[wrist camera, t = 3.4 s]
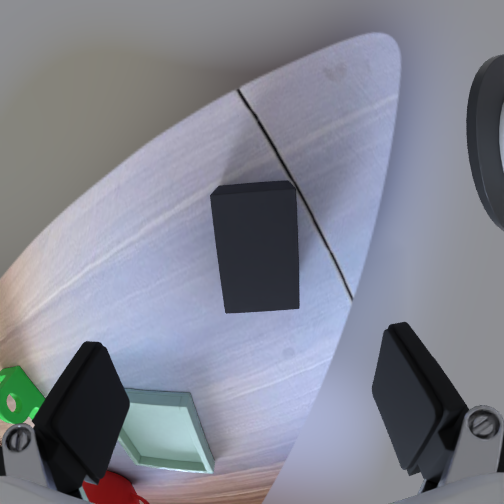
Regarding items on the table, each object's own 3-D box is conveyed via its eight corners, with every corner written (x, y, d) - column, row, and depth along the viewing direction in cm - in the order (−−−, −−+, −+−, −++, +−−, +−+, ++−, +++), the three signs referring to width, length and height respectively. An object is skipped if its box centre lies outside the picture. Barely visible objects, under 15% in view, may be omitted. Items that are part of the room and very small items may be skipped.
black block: (288, 180, 21) (296, 188, 17) (293, 282, 23) (299, 309, 20) (218, 185, 21) (209, 195, 17) (230, 287, 24) (225, 313, 20)
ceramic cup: (177, 494, 40) (170, 537, 30) (113, 490, 42) (102, 525, 33) (135, 463, 35) (120, 512, 26) (72, 458, 38) (55, 496, 28)
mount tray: (190, 392, 28) (186, 407, 26) (214, 462, 34) (213, 473, 32) (96, 384, 29) (90, 396, 27) (139, 454, 34) (135, 465, 32)
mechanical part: (2, 368, 30) (-24, 400, 22) (19, 365, 29) (-10, 402, 22) (48, 423, 34) (30, 457, 26) (69, 424, 33) (50, 462, 25)
